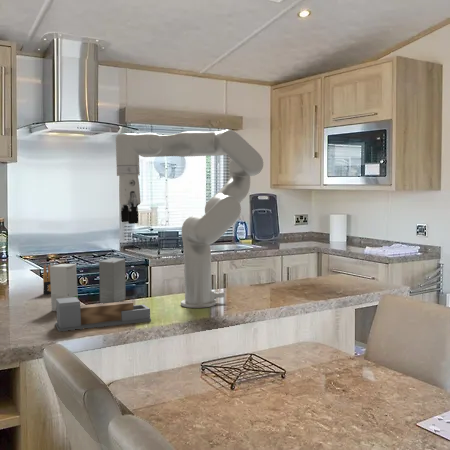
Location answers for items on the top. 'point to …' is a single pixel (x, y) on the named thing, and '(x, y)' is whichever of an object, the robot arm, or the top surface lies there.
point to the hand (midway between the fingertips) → (129, 222)
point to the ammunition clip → (47, 281)
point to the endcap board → (72, 320)
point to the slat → (104, 312)
